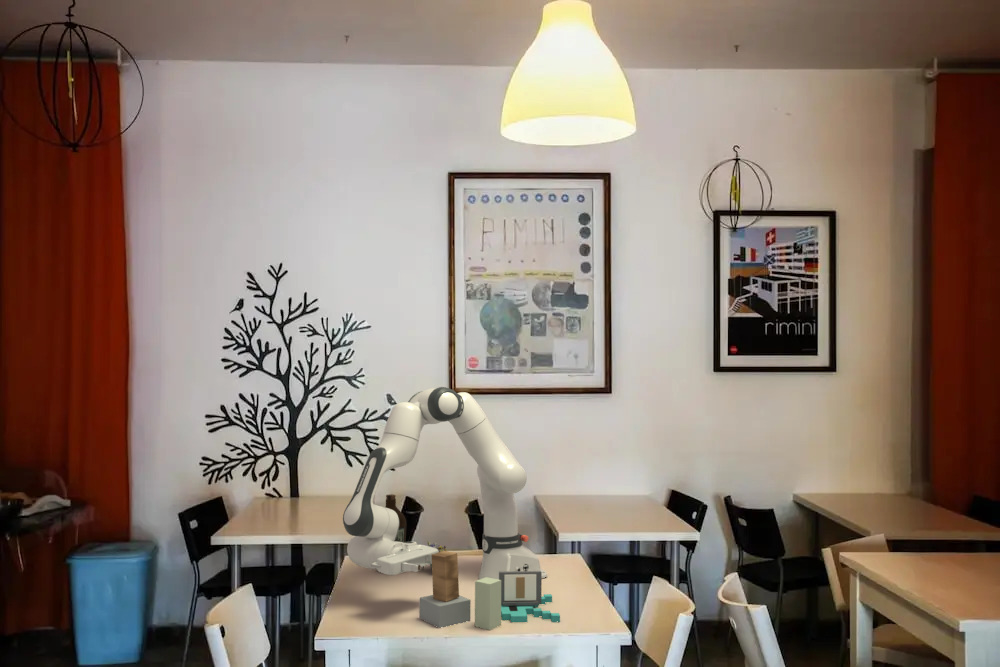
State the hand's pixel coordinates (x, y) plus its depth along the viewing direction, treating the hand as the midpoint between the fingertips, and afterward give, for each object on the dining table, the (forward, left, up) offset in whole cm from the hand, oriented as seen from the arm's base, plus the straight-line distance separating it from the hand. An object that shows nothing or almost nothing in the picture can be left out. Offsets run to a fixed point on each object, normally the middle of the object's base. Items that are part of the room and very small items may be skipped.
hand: (429, 564), depth 230 cm
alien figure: (-24, +8, -15) cm, 30 cm away
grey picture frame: (-24, +8, -12) cm, 28 cm away
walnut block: (-3, +5, -8) cm, 10 cm away
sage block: (-10, +15, -14) cm, 23 cm away
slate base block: (-2, +5, -14) cm, 15 cm away
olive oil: (-8, -51, -14) cm, 54 cm away
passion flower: (-21, -43, -14) cm, 50 cm away
